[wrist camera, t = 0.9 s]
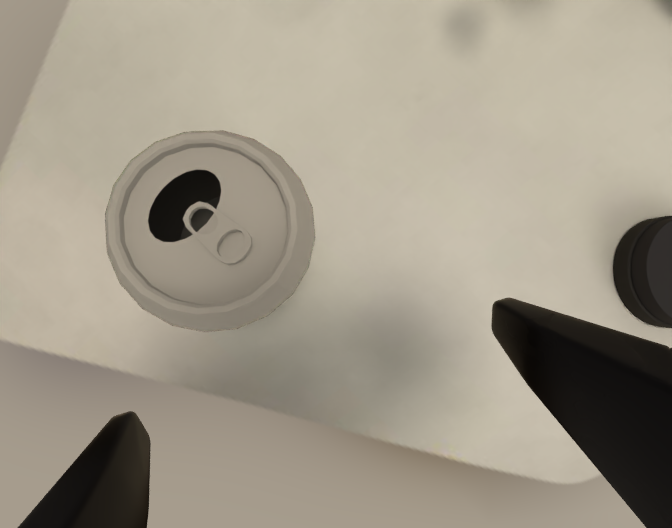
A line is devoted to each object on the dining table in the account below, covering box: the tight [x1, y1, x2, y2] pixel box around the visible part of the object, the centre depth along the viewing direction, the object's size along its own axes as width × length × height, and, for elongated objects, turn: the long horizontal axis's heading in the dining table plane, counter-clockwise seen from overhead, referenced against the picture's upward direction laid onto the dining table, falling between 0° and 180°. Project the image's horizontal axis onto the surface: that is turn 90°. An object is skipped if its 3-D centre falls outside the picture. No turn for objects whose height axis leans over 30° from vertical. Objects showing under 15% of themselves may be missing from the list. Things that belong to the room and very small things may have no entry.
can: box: [105, 131, 315, 332], centre depth 18 cm, size 8×8×12 cm
